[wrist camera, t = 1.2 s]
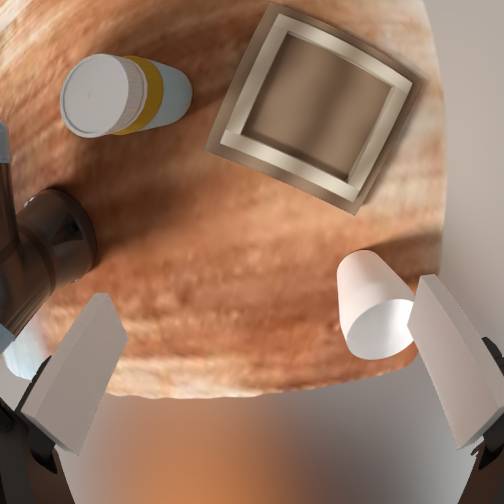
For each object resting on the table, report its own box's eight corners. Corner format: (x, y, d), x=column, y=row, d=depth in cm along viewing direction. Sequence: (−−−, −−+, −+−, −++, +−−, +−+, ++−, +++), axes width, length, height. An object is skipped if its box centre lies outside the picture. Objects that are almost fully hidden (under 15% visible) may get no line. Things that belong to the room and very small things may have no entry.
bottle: (188, 128, 30) (127, 148, 17) (134, 122, 29) (52, 141, 16) (200, 70, 26) (144, 45, 13) (143, 66, 26) (63, 52, 13)
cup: (354, 228, 34) (386, 283, 24) (402, 260, 36) (438, 316, 25) (314, 281, 38) (327, 346, 28) (363, 306, 40) (384, 368, 29)
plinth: (208, 146, 31) (200, 151, 27) (270, 9, 22) (270, -3, 19) (349, 208, 33) (357, 220, 30) (413, 81, 25) (428, 80, 21)
